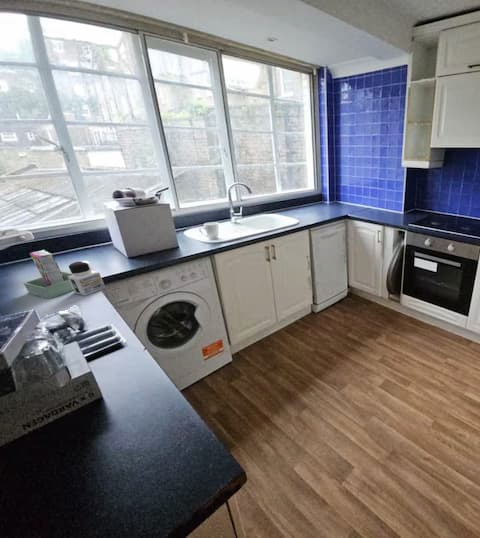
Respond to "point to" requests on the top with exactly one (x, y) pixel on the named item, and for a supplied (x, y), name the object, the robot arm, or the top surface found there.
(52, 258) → the candy bar box
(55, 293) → the tray
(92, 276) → the container
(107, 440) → the top surface
